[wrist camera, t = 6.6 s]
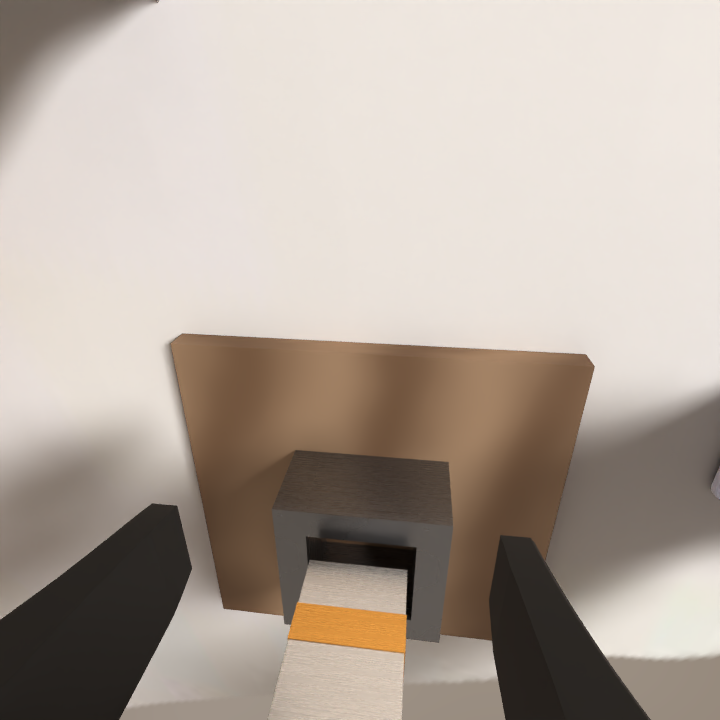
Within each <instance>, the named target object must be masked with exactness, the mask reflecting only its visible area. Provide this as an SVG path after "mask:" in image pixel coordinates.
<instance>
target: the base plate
mask: <svg viewBox="0 0 720 720" xmlns="http://www.w3.org/2000/svg"><path fill="white" fill-rule="evenodd" d="M171 348H172V353H173V358H174V363H175V368H176V373H177V378H178V383H179V388H180V393H181V398H182V403H183V408H184V413H185V418H186V423H187V428H188V433H189V438H190V443H191V448H192V453H193V458H194V463H195V468H196V473H197V478H198V483H199V488H200V493H201V498H202V503H203V508H204V513H205V518H206V523H207V528H208V533H209V538H210V543H211V548H212V553H213V558H214V563H215V568H216V573H217V578H218V583H219V588H220V593H221V598H222V603H223V608H224V609H231V610H240V611H248V612H256V613H265V614H273V615H282V616H284V614H283V605H282V597H281V588H280V579H279V570H278V561H277V552H276V543H275V534H274V526H273V517H272V507H273V505H274V502H275V500H276V497H277V495H278V492H279V490H280V487H281V485H282V482H283V480H284V477H285V475H286V472H287V470H288V467H289V465H290V462H291V460H292V457H293V455H294V452H295V450H303V451H316V452H329V453H342V454H355V455H367V456H380V457H393V458H406V459H418V460H431V461H444V462H449V474H450V487H451V501H452V514H453V534H452V542H451V550H450V558H449V566H448V574H447V582H446V590H445V598H444V606H443V614H442V623H441V631H440V634H442V635H450V636H459V637H467V638H475V639H484V640H492V633H491V621H490V609H489V596H490V590H491V584H492V579H493V573H494V568H495V562H496V557H497V551H498V546H499V540H500V535H506V536H517V537H528V538H531V539H532V540H533V541H534V542H535V544H536V546H537V548H538V549H539V551H540V553H541V555H542V557H543V559H544V560H545V559H546V555H547V551H548V547H549V543H550V539H551V536H552V532H553V528H554V524H555V520H556V516H557V512H558V508H559V504H560V500H561V496H562V493H563V489H564V485H565V481H566V477H567V473H568V469H569V465H570V461H571V457H572V453H573V449H574V446H575V442H576V438H577V434H578V430H579V426H580V422H581V418H582V414H583V410H584V406H585V403H586V399H587V395H588V391H589V387H590V383H591V379H592V375H593V371H594V367H595V366H594V365H593V364H592V362H591V361H590V359H589V358H588V357H587V355H586V354H566V353H547V352H528V351H508V350H489V349H470V348H450V347H431V346H411V345H392V344H373V343H353V342H334V341H315V340H295V339H276V338H256V337H237V336H218V335H198V334H181V335H180V336H179V337H178V338H177V339H175V340H174V341H173V342H172V343H171ZM327 541H328V542H339V543H349V544H359V545H369V546H379V547H389V548H399V549H409V550H413V547H408V546H397V545H387V544H377V543H367V542H357V541H347V540H337V539H327Z"/></svg>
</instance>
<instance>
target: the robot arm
mask: <svg viewBox="0 0 720 720" xmlns="http://www.w3.org/2000/svg"><path fill="white" fill-rule="evenodd" d="M711 491H712V493H713V494H714V495H715V497H716V498H718V499H719V500H720V467H719V469H718V471H717V474H716V476H715V478H714V481H713V483H712V485H711ZM191 570H192V566H191V562H190V558H189V554H188V549H187V545H186V541H185V537H184V533H183V529H182V524H181V520H180V516H179V512H178V508H177V506H173V505H162V504H151V505H150V506H148V507H147V508H146V509H144V510H143V511H142V512H140V513H139V514H138V515H137V516H135V517H134V518H133V519H132V520H130V521H129V522H128V523H127V524H125V525H124V526H123V527H122V528H120V529H119V530H118V531H117V532H115V533H114V534H113V535H112V536H110V537H109V538H108V539H107V540H105V541H104V542H103V543H102V544H100V545H99V546H98V547H97V548H95V549H94V550H93V551H92V552H90V553H89V554H88V555H86V556H85V557H84V558H83V559H81V560H80V561H79V562H77V563H76V564H75V565H74V566H72V567H71V568H70V569H69V570H67V571H66V572H65V573H63V574H62V575H61V576H60V577H58V578H57V579H56V580H54V581H53V582H51V583H50V584H49V585H47V586H46V587H45V588H43V589H42V590H41V591H39V592H38V593H36V594H35V595H34V596H32V597H31V598H30V599H28V600H27V601H25V602H24V603H23V604H21V605H20V606H19V607H17V608H16V609H15V610H13V611H12V612H10V613H9V614H8V615H6V616H5V617H4V618H2V619H1V620H0V720H119V719H120V717H121V715H122V713H123V711H124V709H125V708H126V706H127V704H128V702H129V700H130V698H131V696H132V694H133V692H134V690H135V689H136V687H137V685H138V683H139V681H140V679H141V677H142V675H143V673H144V672H145V670H146V668H147V666H148V664H149V662H150V660H151V658H152V656H153V655H154V653H155V651H156V649H157V647H158V645H159V643H160V641H161V639H162V637H163V635H164V633H165V631H166V630H167V628H168V626H169V624H170V622H171V620H172V618H173V616H174V614H175V611H176V609H177V606H178V604H179V601H180V599H181V596H182V594H183V591H184V589H185V586H186V583H187V581H188V578H189V575H190V573H191ZM489 609H490V621H491V633H492V644H493V653H494V659H495V665H496V670H497V676H498V681H499V687H500V692H501V697H502V703H503V708H504V713H505V719H506V720H650V718H649V717H648V716H647V714H646V713H645V712H644V710H643V709H642V708H641V706H640V705H639V704H638V702H637V701H636V700H635V698H634V697H633V695H632V694H631V693H630V691H629V690H628V688H627V687H626V686H625V684H624V683H623V682H622V680H621V679H620V677H619V676H618V675H617V674H616V672H615V670H614V669H613V668H612V666H611V665H610V663H609V662H608V660H607V659H606V657H605V656H604V655H603V653H602V652H601V650H600V649H599V647H598V646H597V644H596V643H595V641H594V640H593V638H592V637H591V635H590V634H589V632H588V630H587V629H586V627H585V626H584V624H583V623H582V621H581V620H580V618H579V617H578V615H577V614H576V612H575V611H574V609H573V607H572V606H571V604H570V603H569V601H568V599H567V598H566V596H565V594H564V593H563V591H562V589H561V588H560V586H559V584H558V583H557V581H556V579H555V578H554V576H553V574H552V573H551V571H550V569H549V567H548V566H547V564H546V562H545V560H544V559H543V557H542V555H541V553H540V551H539V549H538V548H537V546H536V544H535V542H534V541H533V540H532V539H531V538H528V537H517V536H506V535H500V540H499V546H498V551H497V557H496V562H495V568H494V573H493V579H492V584H491V590H490V596H489Z"/></svg>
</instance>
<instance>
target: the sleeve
mask: <svg viewBox="0 0 720 720" xmlns="http://www.w3.org/2000/svg"><path fill="white" fill-rule="evenodd" d="M272 517H273V526H274V534H275V543H276V552H277V561H278V570H279V579H280V588H281V597H282V605H283V614H284V623H285V624H289V625H291V624H292V620H293V616H294V612H295V609H296V605H297V602H299V598H300V594H301V590H302V587H303V583H304V579H305V575H306V571H307V568H308V564H309V560H316V561H325V562H335V563H344V564H354V565H363V566H373V567H382V568H392V569H402V570H407V594H406V615H407V620H406V639H414V640H422V641H430V642H439V639H440V631H441V623H442V614H443V606H444V598H445V590H446V582H447V574H448V566H449V558H450V550H451V542H452V534H453V514H452V501H451V487H450V474H449V462H444V461H431V460H418V459H406V458H393V457H380V456H367V455H355V454H342V453H329V452H316V451H303V450H295V452H294V455H293V457H292V460H291V462H290V465H289V467H288V470H287V472H286V475H285V477H284V480H283V482H282V485H281V487H280V490H279V492H278V495H277V497H276V500H275V502H274V505H273V507H272ZM327 539H337V540H347V541H357V542H367V543H377V544H387V545H397V546H408V547H413V550H409V549H399V548H389V547H379V546H369V545H359V544H349V543H339V542H328V541H327Z"/></svg>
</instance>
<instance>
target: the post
mask: <svg viewBox="0 0 720 720" xmlns="http://www.w3.org/2000/svg"><path fill="white" fill-rule="evenodd" d="M406 594H407V570H402V569H392V568H382V567H373V566H363V565H354V564H344V563H335V562H325V561H316V560H309V564H308V568H307V571H306V575H305V579H304V583H303V587H302V590H301V594H300V598H299V602H297V605H296V609H295V612H294V616H293V620H292V624H291V627H290V631H289V635H288V643H287V647H286V651H285V654H284V658H283V662H282V666H281V670H280V673H279V677H278V681H277V685H276V688H275V692H274V696H273V700H272V703H271V708H270V711H269V715H268V719H267V720H402V701H403V678H404V664H405V648H406V620H407V615H406Z"/></svg>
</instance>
